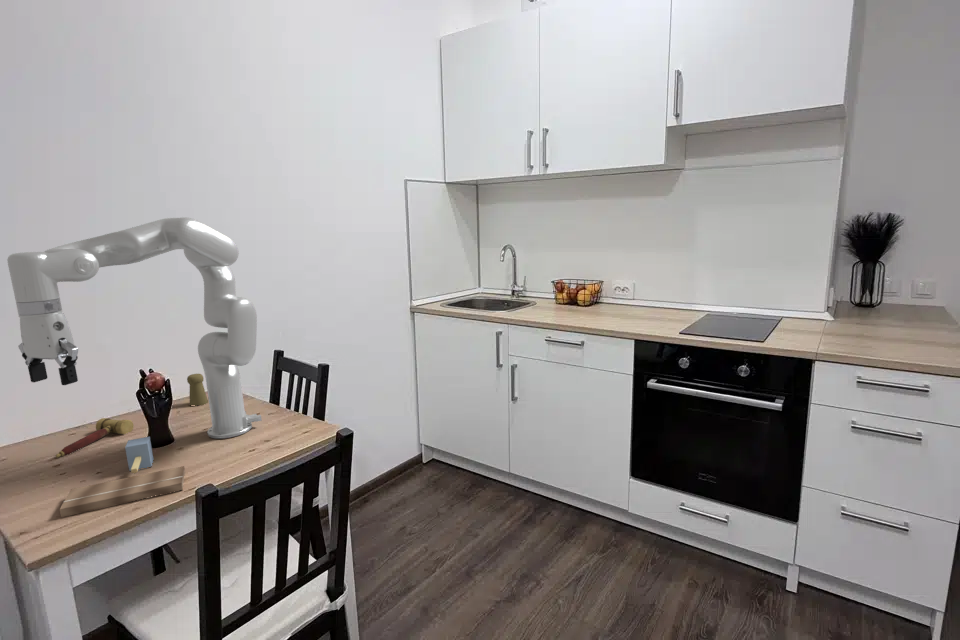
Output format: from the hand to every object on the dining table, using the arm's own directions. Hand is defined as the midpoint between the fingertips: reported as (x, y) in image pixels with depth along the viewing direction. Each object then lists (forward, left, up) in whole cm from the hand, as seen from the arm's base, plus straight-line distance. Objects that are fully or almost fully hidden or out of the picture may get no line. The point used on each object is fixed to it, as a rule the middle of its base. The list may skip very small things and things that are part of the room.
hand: (54, 382), depth 119 cm
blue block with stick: (-11, -10, -30) cm, 33 cm away
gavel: (+5, -40, -30) cm, 50 cm away
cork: (-23, -62, -30) cm, 72 cm away
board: (-10, +2, -30) cm, 31 cm away
